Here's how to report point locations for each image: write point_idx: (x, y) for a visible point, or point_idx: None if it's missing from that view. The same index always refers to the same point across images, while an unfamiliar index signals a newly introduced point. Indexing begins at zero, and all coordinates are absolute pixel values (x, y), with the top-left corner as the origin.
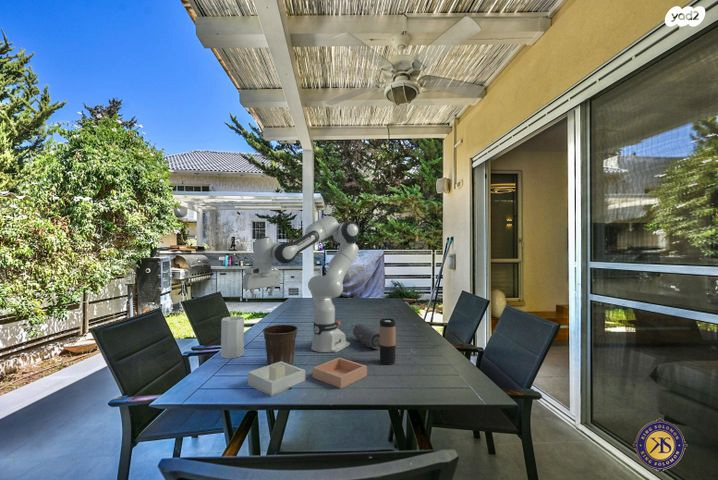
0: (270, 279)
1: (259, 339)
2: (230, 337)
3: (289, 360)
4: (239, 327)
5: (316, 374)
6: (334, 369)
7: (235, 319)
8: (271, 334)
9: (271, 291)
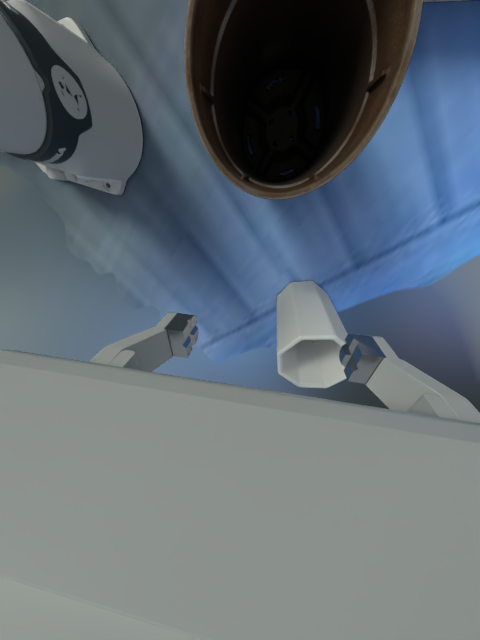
0: (22, 564)
1: (199, 335)
2: (334, 314)
3: (287, 51)
4: (316, 319)
5: None
6: None
7: (286, 368)
8: None
9: (161, 337)
